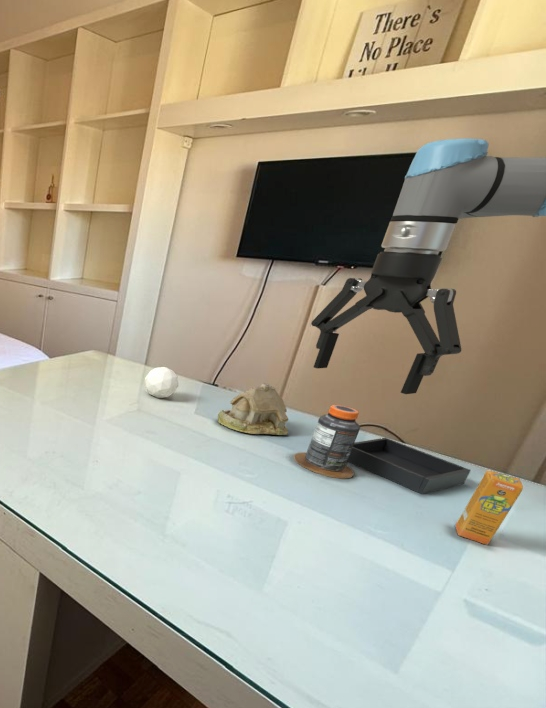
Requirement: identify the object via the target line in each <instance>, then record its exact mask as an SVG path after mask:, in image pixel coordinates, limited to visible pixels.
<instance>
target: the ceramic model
mask: <svg viewBox="0 0 546 708" xmlns="http://www.w3.org/2000/svg"><path fill="white" fill-rule="evenodd" d="M229 404H230V405H231V409H228V410H227V409H226V410H223V409H222V410H220V411H218V413H217V421H218V423H219V424H220V425H222V426H225V427H226V428H229V429H231V430H234V431H237V432H241V433H246V434H251V435H252V434H253V435H260V434H262V435H264V434H265V435H278V436H285V435H287V436H288V434H289V430H288V428H287V425H286V423H287V422H288V421H289V416H288V415H287V406H286V404H285V401H284V398H282V397H281V396H280V394H279V393H278V391H277V389H276V387H275V386H272V385H270V384H268V383H265V382H263V383H261V385H260V386H255V387H251V388H249V389H247V390H245V391H244V392H240V394H238V395H236V396H235V397H233V398H232V400H230V402H229Z"/></svg>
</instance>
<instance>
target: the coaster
mask: <svg viewBox="0 0 546 708" xmlns="http://www.w3.org/2000/svg"><path fill="white" fill-rule="evenodd" d="M305 455H306V452H297V453H295V454H294V455H293V460H294V462H295V463H297V464H298V465H299V466H300V467H302V468H304V469H307V470H309V471H311V472H313V473H315V474H319V475H321V476H325V477H329V478H334V479H343V480H345V479H351V478H352V477H353V476H354V470H353V469H352V468H351V467H349V466H348V465H345V467H344V469H343V470H341V471H331V470H326V469H322V468H319V467H317V466H314V465H312V464H311V463H309V462H308V461H307V460H306V459H305Z"/></svg>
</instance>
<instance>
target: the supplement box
mask: <svg viewBox="0 0 546 708" xmlns="http://www.w3.org/2000/svg"><path fill="white" fill-rule="evenodd" d="M523 490H524V485H523V483H522V480H521V479H520V478H518V477H514V476H509V475H507V474H506V475H505V474H502V473H499V472H495V471H492V470H486V471H485V472H484V474H483V477H481V480H480V482H479V484H478V485H477V487H476V489H475V490H474V492H473V494H472V495H471V498H470V499H469V501H468V502H467V505H466V506H465V508H464V510H463V512H462V513H461V515H460V517H459V518H458V519H457V521H456V523H455V529H456V534H457V536H458V537H462V538H464V539H467V540H471V541H473V542H476V543H479V544H483V545H485V546H488V545H489V543H490V542H491V540H492V539H493V537H494V536H495V535H496V533H497V531H498V530H499V528H500V526H501V525H502V523H503V522H504V520H505V519H506V517H507V515H508V514H509V513H510V510H511V509H512V508H513V506H514V504H515V503H516V501H517V500H518V498H519V496H520V495H521V493H522V492H523Z"/></svg>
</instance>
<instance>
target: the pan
mask: <svg viewBox="0 0 546 708" xmlns="http://www.w3.org/2000/svg"><path fill="white" fill-rule="evenodd" d="M381 438H382V439H381ZM347 462H349V463H351V464H353V465H355V466H357V467H360V468H361V469H364V470H366V471H369V472H370V473H373V474H375V475H378V476H380V477H382V478H384V479H386V480H389V481H391V482H393V483H395V484H397V485H400V486H402V487H405V488H407V489H409V490H412V491H414V492H416V493H418V494H420V495H424V494H428V493H432V492H435V491H440V490H444V489H448V488H453V487H456V486H460V485H464V484H465V482H466V481H467V479H468V477H469V476H470V475H469V474H470V473H471V469H469V468H466V467H464V466H463V465H459V464H456V463H453V462H451V461H448V460H446V459H443V458H440V457H437V456H435V455H433V454H430V453H427V452H424V451H423V450H422V451H421V450H419V449H416V448H414V447H411V446H408V445H406V444H403V443H401V442H399V441H395V440H392V439H390V438H388V437H380V438H375V439H367V440H362V441H355V443H354V445H353V447H352V450H351V452H350V455H349V457H348V460H347Z"/></svg>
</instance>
